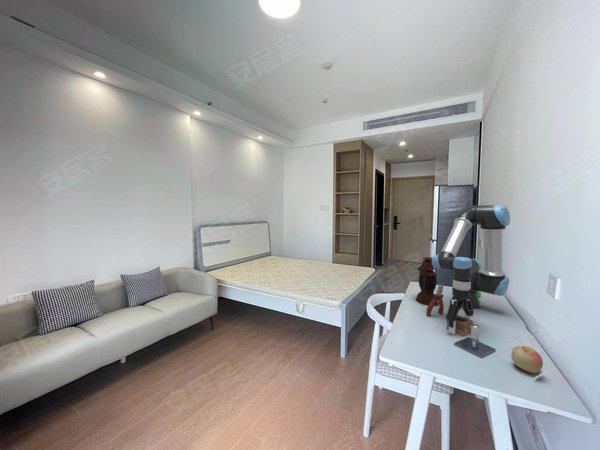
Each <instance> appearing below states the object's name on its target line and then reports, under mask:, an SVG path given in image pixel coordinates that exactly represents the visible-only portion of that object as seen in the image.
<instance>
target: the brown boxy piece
mask: <svg viewBox="0 0 600 450" xmlns="http://www.w3.org/2000/svg"><path fill="white" fill-rule="evenodd" d="M455 321H456V326H455V334H457V335H460V336H461V337H466V336H468V335H471V325H472V324H474V321H473V320H471V319H470V320H469V319H467V318H464V316H462V315H461V316H460V315H459V314H457V316H456V319H455ZM446 330H448V331H449V320H447V319H446Z"/></svg>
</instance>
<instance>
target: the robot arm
mask: <svg viewBox="0 0 600 450" xmlns="http://www.w3.org/2000/svg"><path fill="white" fill-rule="evenodd" d="M510 220H511V216H510V212H509V209H508V207H507V206H506V205H500V204H499V205H498V204H488V205H485V204H484V205H482V204H481V205H477V204H476V205H470V206H468V207H466V208H464V209H463V210H461V211H460V212H459V213H458V214H457V215H456V216H455V218H454V220H453V226H452V229H451V231H450V233H449V234H448V237H447V239H446V240H445V243H444V244H443V246H442V249H441V251H440V253H439V254H434V255H432V257H431V258H432V265H433V266H434V268H435V269H436V268H437V269H439V270H445V271H446V270H447V271H452V281H451V282H452V288H451V290H452V292H451V295H452V297H451V299H450V300H449V305H448V310H447V313H446V318H445V319H446V321H447V320H449V330H448V333H450V334H451V335H456V333H455V326H456V321H455V319H456V316H457V315H459V312H460V310H461V309H462V310H463V311H464V312H463V313H464V314H463V317H464V318H467V319H469V320H471V317H473V316H474V309H478V308H480V307H481V302H480V299H479V297H478V296H477V291H480V292H481V293H485V294H490V295H494V296H499V297H503V296H505V294H506V293H507V291H508V289H509V285H510V279H509V277H508V276H506V273H505V272H504V271H503V269H502V268H503V266H502V263H503V231H505V229H506V227H508V226H509V225H510ZM474 225H477V226H478V225H479V227H480V228H479V229H481V231H483V269H482V264H481V262H480V261H479V260H478V259H476V258H469V257H465V256H457V254H458V252H459V249H460V247H461V245H462V243H463V241H464V239H465V237H466V235H467V233H468V230H469V229H471V228H472V227H473V226H474Z"/></svg>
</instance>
